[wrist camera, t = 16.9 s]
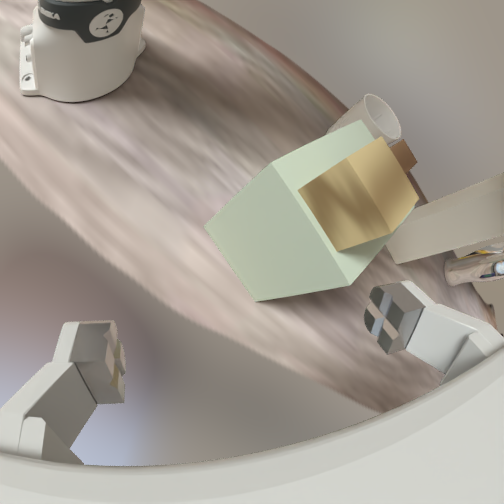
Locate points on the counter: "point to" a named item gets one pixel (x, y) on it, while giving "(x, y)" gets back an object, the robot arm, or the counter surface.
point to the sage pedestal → (291, 225)
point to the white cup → (372, 118)
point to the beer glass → (476, 266)
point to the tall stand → (451, 222)
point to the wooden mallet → (363, 194)
